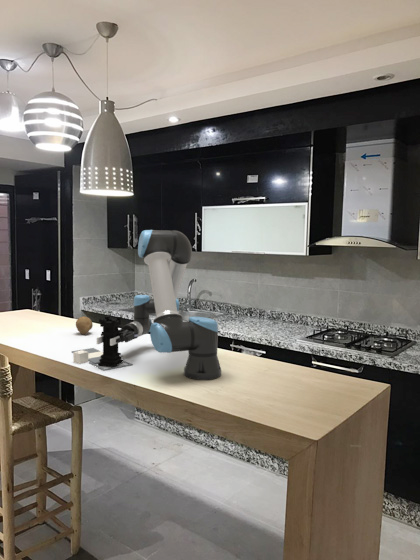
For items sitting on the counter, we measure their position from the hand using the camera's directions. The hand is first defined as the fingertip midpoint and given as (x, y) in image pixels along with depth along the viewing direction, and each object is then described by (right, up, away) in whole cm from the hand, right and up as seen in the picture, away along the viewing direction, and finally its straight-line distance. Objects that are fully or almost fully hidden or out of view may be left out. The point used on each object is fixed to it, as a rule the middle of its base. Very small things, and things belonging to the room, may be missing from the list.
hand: (104, 341), depth 188 cm
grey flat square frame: (+1, -11, +6) cm, 12 cm away
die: (-12, -10, +9) cm, 18 cm away
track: (-9, -9, +18) cm, 22 cm away
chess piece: (+1, -10, +6) cm, 12 cm away
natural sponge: (-26, -4, +62) cm, 67 cm away
